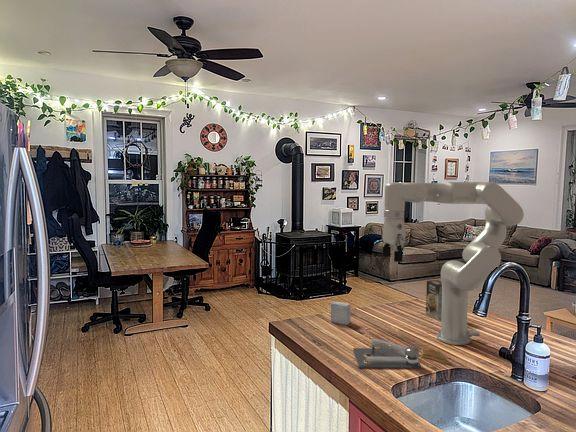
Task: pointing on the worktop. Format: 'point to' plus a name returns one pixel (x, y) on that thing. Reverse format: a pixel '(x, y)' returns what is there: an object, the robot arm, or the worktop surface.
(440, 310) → the coffee box
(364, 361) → the divider base plate
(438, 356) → the shard
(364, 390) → the worktop surface
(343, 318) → the medicine box
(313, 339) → the worktop surface
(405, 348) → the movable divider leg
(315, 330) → the worktop surface
